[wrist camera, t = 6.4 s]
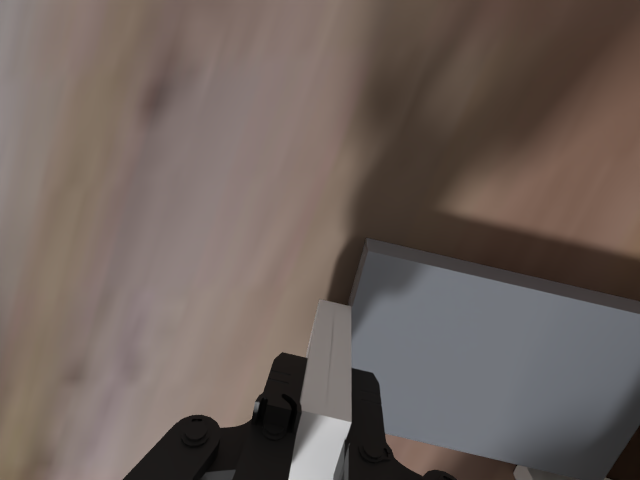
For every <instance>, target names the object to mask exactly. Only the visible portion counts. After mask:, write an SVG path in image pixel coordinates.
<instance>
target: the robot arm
mask: <svg viewBox="0 0 640 480" xmlns="http://www.w3.org/2000/svg"><path fill="white" fill-rule="evenodd" d="M380 395H381V394H380V384H379V382H378V380H377V379H376V377H375V375H374V374H373V373H372V372H368V371H363V370H359V369H355V368H351V306H347V305H343V304H339V303H335V302H330V301H326V300H322V299H319V303H318V307H317V311H316V315H315V320H314V324H313V328H312V332H311V336H310V340H309V344H308V349H307V354H306V358H304V357H300V356H296V355H292V354H287V353H283V352H282V353H281V354H280V355H279V356H278V357H276V358H275V359H274V361H273V364H272V367H271V371H270V373H269V376H268V380H267V383H266V386H265V389H264V392H263V393H262V394H261V395H259V397H258V398H257V400H256V401H255V406H254V411H253V416H252V419H251V420H250V421H248V422H247V423H245V424H243V425H240V426H236V427H228V428H220V427H219V425H218V423H217V422H216V421H215V420H213V419H212V418H211V417H208V416H204V415H191V416H189V417H186V418H183V419H181V420H180V421H179V422H177V423H176V424H175V425H174V426H173V427H172V428H171V429H170V430H169V431H168V432H167V433H166V434H165V435H164V436H163V437H162V439H161V440H160V441H159V442H158V443H157V444H156V445H155V446H154V447H153V448H152V449H151V450H150V451H149V452H148V453H147V454H146V455H145V456H144V458H143V459H142V460H141V461H140V462H139V463H138V464H137V465H136V466H135V467H134V468H133V469H132V470H131V471H130V472H129V473H128V474H127V475H126V477H125V478H124V479H123V480H457V479H456V478H454V477H453V476H451V475H450V474H448V473H446V472H444V471H439V470H432V471H428V472H427V473H426V474H425V475H424V476H423V477H422V476H421V475H419V474H417V473H415V472H413V471H412V470H410V469H408V468H406V467H405V466H403V465H402V464H400V463H399V462H398V461H397V460H396V459H395V458H394V455H393V452H392V450H391V448H390V447H389V446H388V444H387V443H386V439H385V430H384V421H383V412H382V406H381V404H382V403H381V397H380Z"/></svg>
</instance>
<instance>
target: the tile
mask: <svg viewBox="0 0 640 480" xmlns="http://www.w3.org/2000/svg"><path fill="white" fill-rule="evenodd" d="M348 306H351V368H355V369H359V370H363V371H368V372H372V373H373V374H374V375H375V377H376V379H377V380H378V382H379V384H380V394H381V395H380V397H381V403H382V404H381V406H382V412H383V421H384V430H385V433H386V434H390V435H394V436H398V437H402V438H407V439H411V440H415V441H419V442H424V443H428V444H432V445H436V446H440V447H445V448H449V449H453V450H457V451H461V452H466V453H470V454H474V455H478V456H483V457H487V458H491V459H495V460H499V461H504V462H508V463H512V464H516V465H521V466H525V467H529V468H533V469H537V470H542V471H546V472H550V473H554V474H558V475H563V476H567V477H571V478H575V479H580V480H604V478H605V477H606V475H607V474H608V472H609V471H610V469H611V468H612V466H613V465H614V463H615V462H616V460H617V459H618V457H619V456H620V454H621V453H622V451H623V450H624V448H625V447H626V445H627V444H628V442H629V441H630V439H631V438H632V436H633V435H634V433H635V432H636V430H637V429H638V427H639V426H640V301H636V300H632V299H627V298H623V297H619V296H614V295H610V294H606V293H602V292H597V291H593V290H589V289H584V288H580V287H576V286H572V285H567V284H563V283H559V282H554V281H550V280H546V279H542V278H537V277H533V276H529V275H524V274H520V273H516V272H512V271H507V270H503V269H499V268H494V267H490V266H486V265H481V264H477V263H473V262H469V261H464V260H460V259H456V258H451V257H447V256H443V255H439V254H434V253H430V252H426V251H421V250H417V249H413V248H409V247H404V246H400V245H396V244H391V243H387V242H383V241H379V240H374V239H370V238H366V240H365V244H364V247H363V251H362V255H361V258H360V262H359V265H358V269H357V273H356V276H355V280H354V284H353V287H352V291H351V295H350V298H349V302H348Z"/></svg>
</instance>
